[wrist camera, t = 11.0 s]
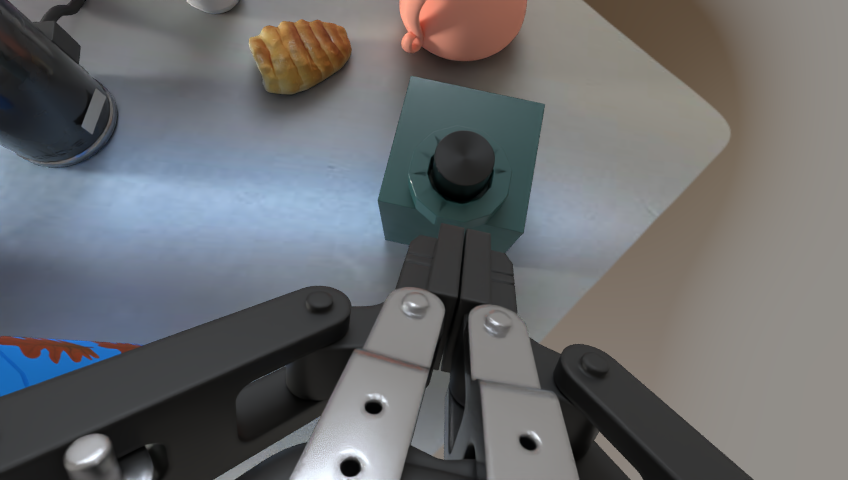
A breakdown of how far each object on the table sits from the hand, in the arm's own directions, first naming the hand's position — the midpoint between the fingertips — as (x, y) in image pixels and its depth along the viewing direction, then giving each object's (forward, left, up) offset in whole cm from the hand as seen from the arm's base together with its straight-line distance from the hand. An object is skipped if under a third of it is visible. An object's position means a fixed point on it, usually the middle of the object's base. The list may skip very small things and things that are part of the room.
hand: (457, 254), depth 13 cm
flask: (-9, +7, -25) cm, 28 cm away
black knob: (-7, +5, -13) cm, 16 cm away
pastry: (-28, -1, -25) cm, 38 cm away
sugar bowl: (-26, +15, -25) cm, 39 cm away
